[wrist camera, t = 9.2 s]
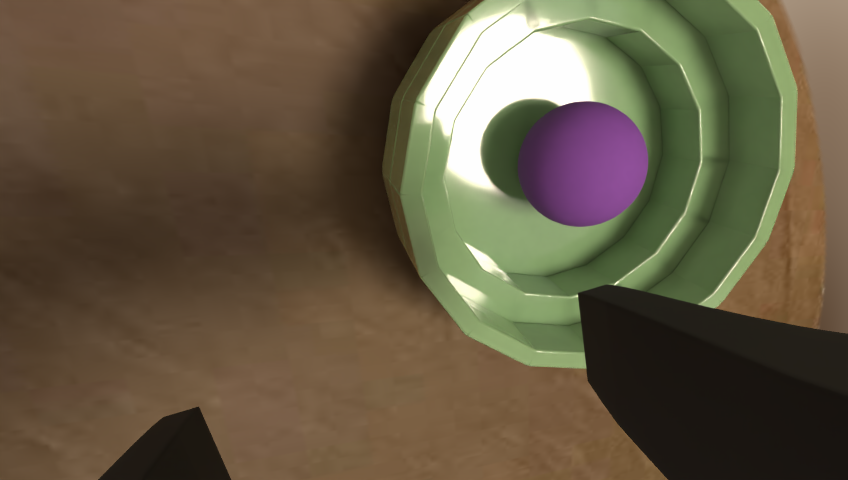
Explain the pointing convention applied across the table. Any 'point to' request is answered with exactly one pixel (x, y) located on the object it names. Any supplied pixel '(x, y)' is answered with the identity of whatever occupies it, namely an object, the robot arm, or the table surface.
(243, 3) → the table surface
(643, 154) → the ball
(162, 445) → the robot arm
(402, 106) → the bowl
